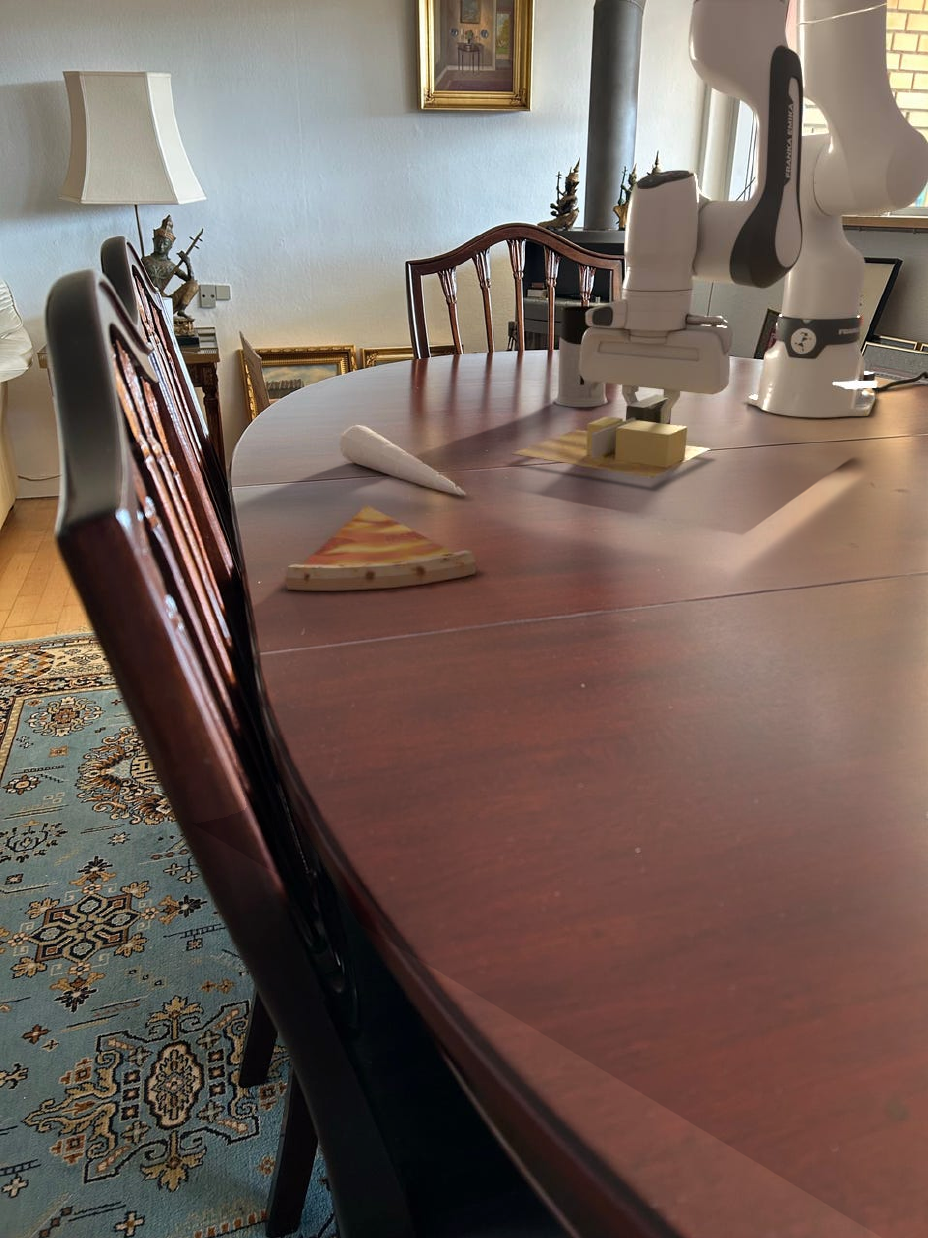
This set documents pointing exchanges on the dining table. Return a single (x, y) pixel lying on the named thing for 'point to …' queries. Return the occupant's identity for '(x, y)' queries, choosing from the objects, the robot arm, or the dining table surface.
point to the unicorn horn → (391, 459)
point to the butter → (650, 443)
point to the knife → (636, 411)
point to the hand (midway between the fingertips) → (648, 421)
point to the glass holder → (575, 362)
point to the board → (574, 452)
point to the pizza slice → (377, 558)
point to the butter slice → (598, 426)
